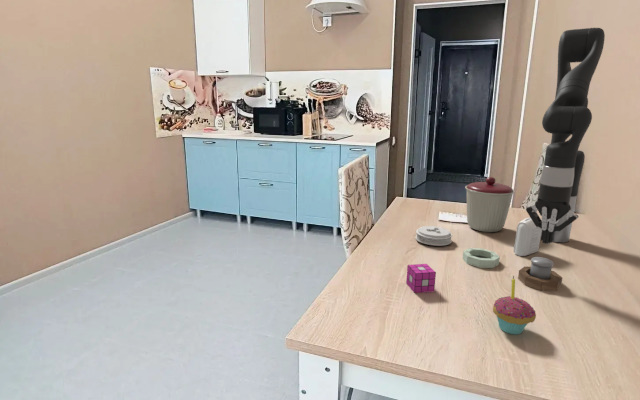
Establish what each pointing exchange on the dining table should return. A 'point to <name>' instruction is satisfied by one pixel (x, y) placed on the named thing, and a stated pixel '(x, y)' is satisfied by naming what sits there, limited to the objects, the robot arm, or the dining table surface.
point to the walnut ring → (540, 280)
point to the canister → (488, 205)
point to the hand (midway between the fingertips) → (546, 242)
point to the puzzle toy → (420, 278)
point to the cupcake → (513, 312)
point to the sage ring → (481, 257)
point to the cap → (541, 268)
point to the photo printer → (527, 238)
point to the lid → (433, 235)
